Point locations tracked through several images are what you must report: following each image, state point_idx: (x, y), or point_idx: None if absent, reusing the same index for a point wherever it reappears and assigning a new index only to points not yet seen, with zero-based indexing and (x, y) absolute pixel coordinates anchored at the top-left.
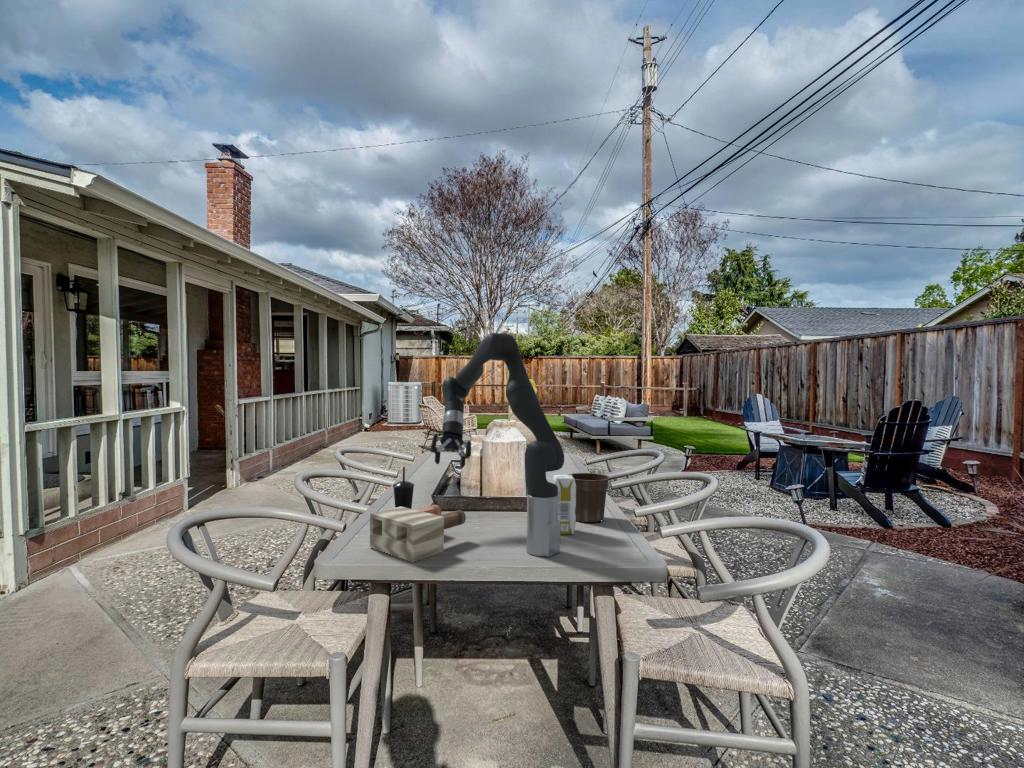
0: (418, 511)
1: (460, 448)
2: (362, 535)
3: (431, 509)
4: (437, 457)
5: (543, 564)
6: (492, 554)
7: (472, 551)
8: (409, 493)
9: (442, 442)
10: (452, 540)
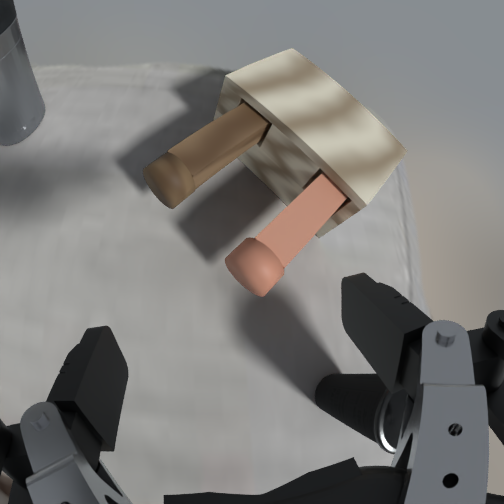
0: (304, 134)
1: (68, 490)
2: (398, 276)
3: (267, 225)
4: (391, 301)
5: (50, 72)
6: (109, 109)
7: (145, 126)
8: (373, 388)
9: (486, 497)
10: (182, 206)
